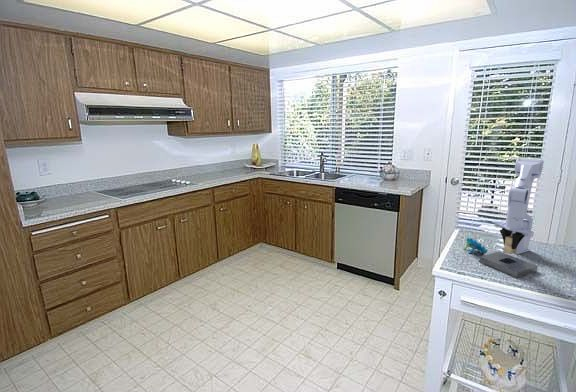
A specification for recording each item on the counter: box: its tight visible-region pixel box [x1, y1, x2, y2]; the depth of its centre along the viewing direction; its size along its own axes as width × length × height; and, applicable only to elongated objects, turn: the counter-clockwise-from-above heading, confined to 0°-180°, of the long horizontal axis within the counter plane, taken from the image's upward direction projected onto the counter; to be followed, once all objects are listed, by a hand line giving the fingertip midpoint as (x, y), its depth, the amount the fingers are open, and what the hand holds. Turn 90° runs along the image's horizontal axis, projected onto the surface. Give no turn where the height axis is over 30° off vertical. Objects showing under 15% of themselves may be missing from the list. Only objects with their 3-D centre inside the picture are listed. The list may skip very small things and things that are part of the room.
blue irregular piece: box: [463, 237, 488, 254], centre depth 147 cm, size 11×6×10 cm
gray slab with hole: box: [478, 251, 539, 279], centre depth 133 cm, size 13×16×2 cm
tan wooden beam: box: [502, 235, 517, 255], centre depth 131 cm, size 4×3×7 cm, turn 113°
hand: (510, 247), depth 132 cm, fingers closed on tan wooden beam, 3 cm apart
